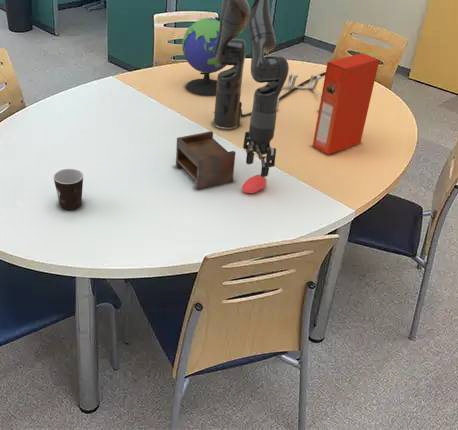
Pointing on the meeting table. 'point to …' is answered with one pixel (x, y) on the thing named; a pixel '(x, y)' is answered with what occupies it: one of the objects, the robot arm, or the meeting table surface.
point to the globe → (202, 54)
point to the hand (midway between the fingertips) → (256, 169)
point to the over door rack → (302, 87)
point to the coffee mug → (69, 188)
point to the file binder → (344, 102)
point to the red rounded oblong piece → (254, 184)
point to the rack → (205, 160)
